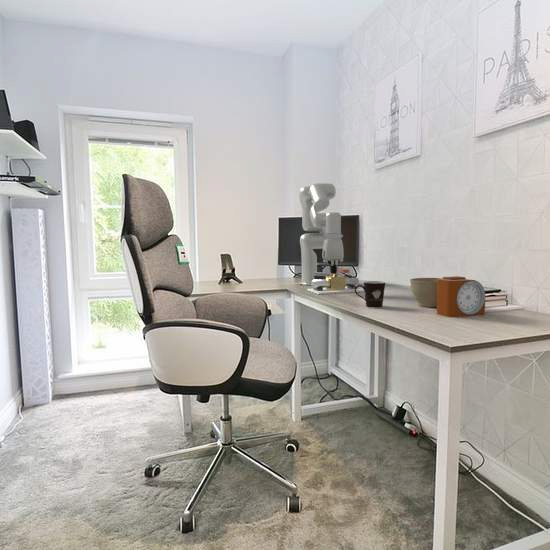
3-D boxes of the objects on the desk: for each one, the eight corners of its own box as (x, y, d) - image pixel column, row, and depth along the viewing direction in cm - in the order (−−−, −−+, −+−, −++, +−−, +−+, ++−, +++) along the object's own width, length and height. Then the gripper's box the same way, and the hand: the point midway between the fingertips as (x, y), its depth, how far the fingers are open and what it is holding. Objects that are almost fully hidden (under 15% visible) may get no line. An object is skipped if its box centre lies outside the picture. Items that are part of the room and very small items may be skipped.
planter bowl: (435, 301, 164) (436, 276, 164) (461, 308, 149) (462, 280, 148) (402, 303, 161) (402, 278, 160) (424, 310, 145) (425, 282, 144)
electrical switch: (332, 288, 217) (331, 272, 215) (328, 290, 213) (327, 273, 211) (317, 287, 222) (316, 271, 220) (313, 289, 218) (312, 273, 216)
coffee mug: (386, 305, 158) (386, 281, 157) (383, 308, 150) (383, 283, 149) (358, 303, 162) (358, 280, 162) (354, 307, 155) (354, 282, 154)
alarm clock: (450, 317, 131) (451, 278, 130) (434, 313, 139) (435, 276, 138) (485, 314, 135) (486, 277, 134) (467, 310, 143) (468, 275, 142)
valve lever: (330, 270, 204) (330, 267, 204) (336, 270, 205) (336, 267, 205) (342, 273, 190) (342, 269, 190) (350, 272, 191) (350, 269, 191)
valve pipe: (310, 289, 203) (310, 272, 203) (353, 287, 211) (353, 270, 210) (315, 291, 197) (315, 273, 196) (360, 288, 204) (360, 271, 203)
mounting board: (307, 290, 207) (307, 288, 207) (351, 288, 214) (351, 286, 214) (318, 294, 192) (318, 292, 191) (366, 291, 199) (366, 289, 199)
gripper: (343, 237, 197) (343, 272, 198) (316, 237, 192) (316, 273, 194) (350, 236, 190) (350, 273, 191) (322, 237, 185) (323, 274, 187)
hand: (333, 273), depth 192 cm, fingers closed
